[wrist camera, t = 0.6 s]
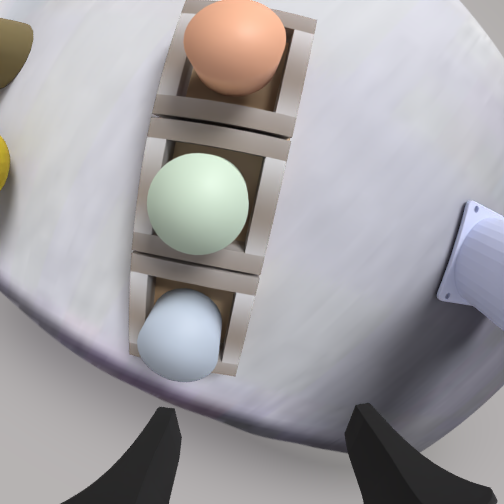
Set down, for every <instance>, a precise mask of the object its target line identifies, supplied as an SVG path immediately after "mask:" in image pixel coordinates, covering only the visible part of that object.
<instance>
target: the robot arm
mask: <svg viewBox="0 0 504 504" xmlns="http://www.w3.org/2000/svg"><path fill="white" fill-rule="evenodd" d="M474 208H475V211H474ZM447 293H448V294H447ZM446 294H447V296H446ZM437 298H438V299H439V300H440V301H445V302H451V303H458V304H464V305H471V306H474V307H475V308H476V309H478V310H479V311H480V312H481V313H483V314H484V315H485V316H486V317H488V318H489V319H490V320H491V321H492V322H494V323H495V324H496V325H497V326H498V327H500V328H501V329H502V330H503V331H504V217H503V216H501V215H499V214H498V213H496V212H494V211H492V210H490V209H488V208H486V207H484V206H482V205H481V204H479V203H477V202H475V201H472V200H469V201H468V202H467V203H466V206H465V210H464V214H463V217H462V221H461V225H460V228H459V232H458V235H457V238H456V242H455V245H454V248H453V251H452V254H451V257H450V260H449V263H448V266H447V268H446V271H445V274H444V277H443V279H442V282H441V284H440V287H439V290H438V292H437ZM181 438H182V437H181V433H180V429H179V425H178V421H177V417H176V414H175V409H174V408H165V407H159V408H158V409H157V410H156V412H155V414H154V415H153V416H152V418H151V419H150V421H149V423H148V424H147V425H146V427H145V428H144V430H143V431H142V432H141V434H140V435H139V436H138V438H137V439H136V440H135V441H134V443H133V444H132V445H131V446H130V448H129V449H128V450H127V451H126V452H125V453H124V455H123V456H122V457H121V458H120V459H119V460H118V461H117V462H116V463H115V464H114V465H113V466H112V467H111V468H110V469H109V470H108V471H107V472H106V473H105V474H104V475H102V476H101V477H100V478H99V479H98V480H96V481H95V482H94V483H93V484H91V485H90V486H89V487H87V488H86V489H84V490H83V491H81V492H80V493H78V494H77V495H75V496H73V497H72V498H70V499H68V500H66V501H65V502H63V503H61V504H169V500H170V495H171V491H172V487H173V483H174V478H175V474H176V470H177V466H178V462H179V455H180V448H181ZM345 439H346V445H347V450H348V454H349V458H350V461H351V464H352V467H353V469H354V473H355V476H356V478H357V481H358V485H359V487H360V491H361V494H362V498H363V502H364V504H496V503H497V499H496V497H495V495H494V493H493V491H492V489H491V488H490V487H486V486H483V485H479V484H476V483H473V482H470V481H467V480H465V479H463V478H460V477H458V476H456V475H454V474H452V473H450V472H448V471H446V470H444V469H443V468H441V467H439V466H438V465H436V464H434V463H433V462H431V461H430V460H429V459H427V458H426V457H424V456H423V455H422V454H421V453H419V452H418V451H417V450H416V449H415V448H413V447H412V446H411V445H410V444H409V443H408V442H407V441H405V440H404V439H403V438H402V437H401V436H400V435H399V434H398V433H397V432H396V431H395V430H394V429H393V428H392V427H391V426H390V425H389V424H388V423H387V422H386V420H385V419H384V418H383V417H382V416H381V415H380V414H379V413H378V412H377V411H376V410H375V409H374V408H373V406H372V405H371V404H370V403H366V404H359V405H356V406H355V408H354V411H353V414H352V416H351V419H350V421H349V424H348V426H347V429H346V431H345Z"/></svg>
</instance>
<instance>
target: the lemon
mask: <svg viewBox="0 0 504 504" xmlns="http://www.w3.org/2000/svg"><path fill="white" fill-rule="evenodd" d="M9 168H10V155H9V150H8V147H7V145H6V143H5V141H4V139H3V138H2V137H1V136H0V191H1V189H2V187H3V186H4V184H5V182H6V179H7V177H8V173H9Z"/></svg>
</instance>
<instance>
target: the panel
mask: <svg viewBox="0 0 504 504" xmlns="http://www.w3.org/2000/svg"><path fill="white" fill-rule="evenodd" d="M215 2H218V1H211V0H186V1H185V4H184V7H183V9H182V12H181V15H180V18H179V20H178V23H177V26H176V29H175V32H174V35H173V38H172V41H171V45H170V48H169V51H168V54H167V58H166V61H165V65H164V68H163V72H162V75H161V79H160V83H159V87H158V91H157V95H156V99H155V103H154V107H153V112H152V113H153V114H155V115H157V116H159V117H160V118H155V117H151V121H150V126H149V130H148V135H147V140H146V146H145V151H144V157H143V163H142V169H141V175H140V182H139V189H138V196H137V204H136V212H135V222H134V232H133V243H132V250H135V251H134V252H133V253H132V256H131V271H130V295H129V354H130V355H134V356H137V357H141V356H140V354H139V351H138V347H137V339H138V335H139V332H140V330H141V329H142V327H143V325H144V323H145V321H146V319H147V318H148V316H149V314H150V312H151V310H152V309H153V307H154V305H155V303H156V302H157V300H158V299H159V298H160V297H161V296H162V295H163V294H164V293H166V292H168V291H170V290H173V289H179V288H187V289H193V290H196V291H199V292H201V293H203V294H205V295H206V296H208V297H209V298H210V299H211V300H212V301H213V302H214V303H215V304H216V306H217V307H218V309H219V311H220V313H221V317H222V328H221V337H220V346H219V354H218V361H217V364H216V366H215V368H214V370H213V371H212V372H211V373H217V374H223V375H229V376H236V372H237V368H238V364H239V360H240V356H241V352H242V348H243V344H244V340H245V336H246V332H247V328H248V324H249V320H250V316H251V311H252V307H253V303H254V299H255V295H256V291H257V287H258V283H259V275H260V274H261V270H262V266H263V262H264V257H265V253H266V249H267V245H268V241H269V236H270V232H271V228H272V223H273V219H274V215H275V211H276V206H277V202H278V198H279V193H280V189H281V184H282V180H283V176H284V171H285V167H286V162H287V158H288V153H289V149H290V145H291V141H290V138H292V136H293V131H294V126H295V122H296V117H297V113H298V108H299V104H300V99H301V94H302V90H303V85H304V80H305V76H306V71H307V66H308V62H309V57H310V52H311V47H312V42H313V38H314V33H315V28H316V23H317V20H315V19H311V18H308V17H304V16H300V15H296V14H292V13H288V12H283V11H279V10H274V9H271V10H272V11H273V12H274V13H275V14H276V15H277V16H278V17H279V18H280V20H281V22H282V23H283V25H284V28H285V32H286V45H285V49H284V52H283V54H282V57H281V59H280V62H279V64H278V67H277V70H276V72H275V74H274V76H273V78H272V79H271V81H270V82H269V83H268V84H267V85H266V86H264V87H263V88H262V89H260V90H259V91H256V92H254V93H252V94H249V95H244V96H226V95H222V94H219V93H216V92H214V91H212V90H211V89H209V88H208V87H207V86H206V85H204V83H203V82H202V81H201V80H200V78H199V77H198V75H197V73H196V71H195V69H194V68H193V66H192V64H191V62H190V61H189V59H188V57H187V55H186V53H185V49H184V43H183V40H184V33H185V30H186V27H187V25H188V24H189V22H190V20H191V19H192V18H193V17H194V16H195V15H196V14H197V13H198V12H199V11H200V10H202V9H203V8H205V7H206V6H208V5H210V4H212V3H215ZM191 153H203V154H210V155H216V156H220V157H222V158H225V159H226V160H228V161H230V162H231V163H232V164H234V165H235V166H236V167H237V168H238V170H239V171H240V172H241V174H242V176H243V177H244V180H245V182H246V186H247V192H248V201H249V209H248V215H247V219H246V222H245V225H244V227H243V229H242V230H241V232H240V234H239V235H238V236H237V237H236V239H235V240H234V241H233V242H232V243H230V244H229V245H228V246H226V247H225V248H223V249H221V250H219V251H217V252H214V253H211V254H206V255H191V254H186V253H182V252H180V251H177V250H175V249H173V248H171V247H170V246H169V245H167V244H166V243H165V242H164V241H163V240H161V239H160V237H159V236H158V235H157V234H156V232H155V230H154V229H153V227H152V225H151V223H150V220H149V216H148V211H147V196H148V191H149V188H150V185H151V183H152V181H153V179H154V177H155V176H156V174H157V173H158V171H159V170H160V169H161V168H162V167H163V166H164V165H166V164H167V163H168V162H170V161H171V160H173V159H175V158H177V157H179V156H182V155H186V154H191Z"/></svg>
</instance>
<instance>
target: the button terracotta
mask: <svg viewBox="0 0 504 504" xmlns="http://www.w3.org/2000/svg"><path fill="white" fill-rule="evenodd" d="M183 43H184V49H185V53H186V55H187V57H188V59H189V61H190V62H191V64H192V66H193V68H194V69H195V71H196V73H197V75H198V77H199V78H200V80H201V81H202V82H203V83H204V85H206V86H207V87H208V88H209V89H211V90H212V91H214V92H216V93H219V94H222V95H226V96H244V95H249V94H252V93H254V92H256V91H259V90H260V89H262V88H263V87H264V86H266V85H267V84H268V83H269V82H270V81H271V79H272V78H273V76H274V74H275V72H276V70H277V67H278V64H279V62H280V59H281V57H282V54H283V52H284V49H285V45H286V32H285V28H284V25H283V23H282V22H281V20H280V18H279V17H278V16H277V15H276V14H275V13H274V12H273V11H272V10H271V9H269V8H268V7H266V6H264V5H263V4H260V3H258V2H255V1H252V0H222V1H218V2H215V3H212V4H210V5H208V6H206V7H205V8H203V9H202V10H200V11H199V12H198V13H197V14H196V15H195V16H194V17H193V18H192V19H191V20H190V22H189V24H188V25H187V27H186V30H185V33H184V40H183Z"/></svg>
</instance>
